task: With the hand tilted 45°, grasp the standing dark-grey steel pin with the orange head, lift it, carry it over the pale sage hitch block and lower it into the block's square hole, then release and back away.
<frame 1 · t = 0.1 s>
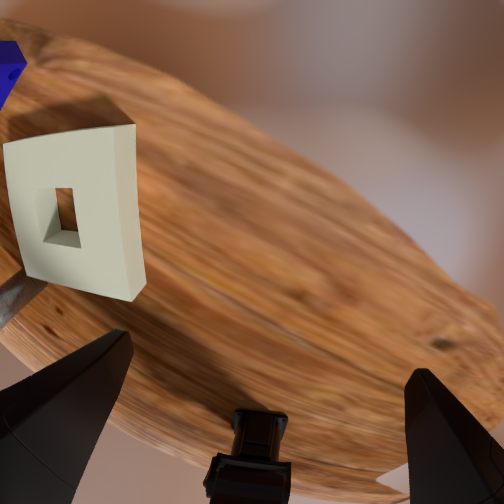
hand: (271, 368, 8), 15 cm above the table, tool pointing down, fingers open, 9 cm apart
hitch block: (75, 205, 24), on the table
steel pin: (37, 275, 28), on the table
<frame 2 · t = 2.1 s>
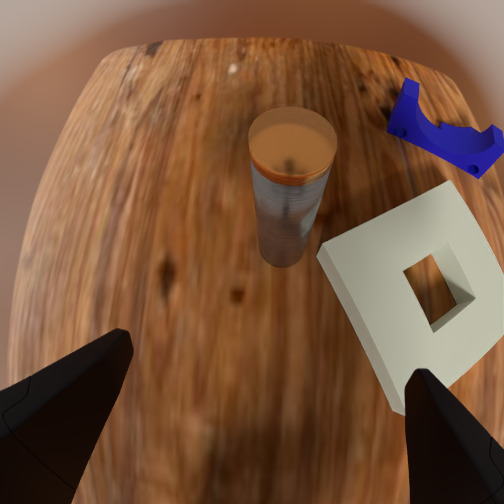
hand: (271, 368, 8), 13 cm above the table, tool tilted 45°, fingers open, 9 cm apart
hitch block: (424, 293, 21), on the table
blue cradle bracket: (435, 143, 27), on the table
steel pin: (282, 245, 24), on the table
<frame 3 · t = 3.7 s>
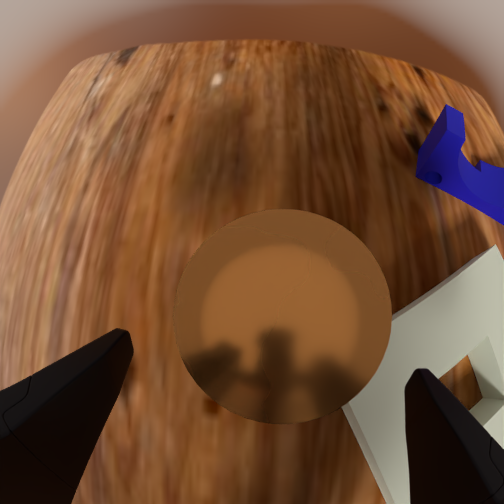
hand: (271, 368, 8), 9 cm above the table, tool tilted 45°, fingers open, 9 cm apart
hitch block: (448, 391, 15), on the table
blue cradle bracket: (472, 188, 20), on the table
steel pin: (272, 342, 17), on the table
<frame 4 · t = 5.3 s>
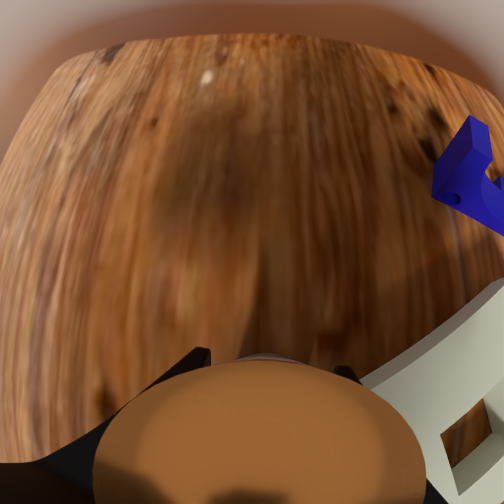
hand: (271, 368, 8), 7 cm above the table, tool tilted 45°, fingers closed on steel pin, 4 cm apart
hitch block: (457, 429, 12), on the table
blue cradle bracket: (490, 207, 17), on the table
steel pin: (266, 386, 14), on the table, touching gripper
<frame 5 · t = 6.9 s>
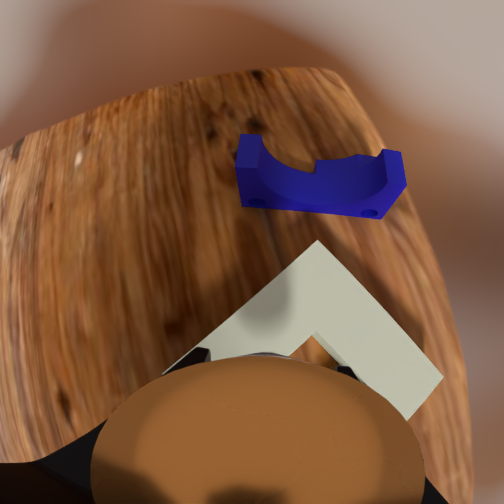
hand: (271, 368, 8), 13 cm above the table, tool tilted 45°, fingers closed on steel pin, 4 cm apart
hitch block: (307, 381, 20), on the table
blue cradle bracket: (313, 191, 25), on the table
steel pin: (265, 385, 14), point 7 cm above the table, touching gripper
when the fingers open (8 cm above the table, at t = 8.7 s): steel pin drops 1 cm, resting in hitch block.
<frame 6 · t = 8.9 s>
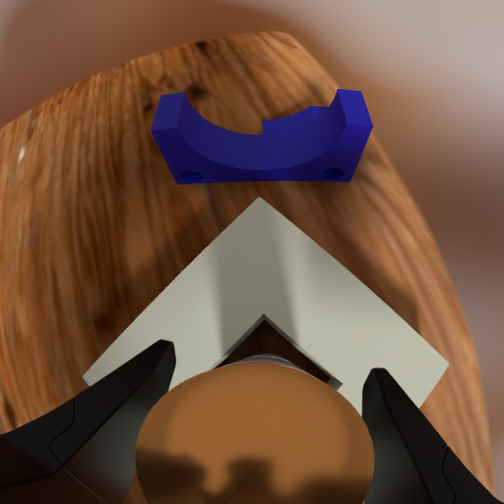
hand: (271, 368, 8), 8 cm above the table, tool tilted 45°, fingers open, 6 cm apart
hitch block: (266, 382, 16), on the table
blue cradle bracket: (263, 157, 21), on the table
steel pin: (265, 383, 16), resting in hitch block
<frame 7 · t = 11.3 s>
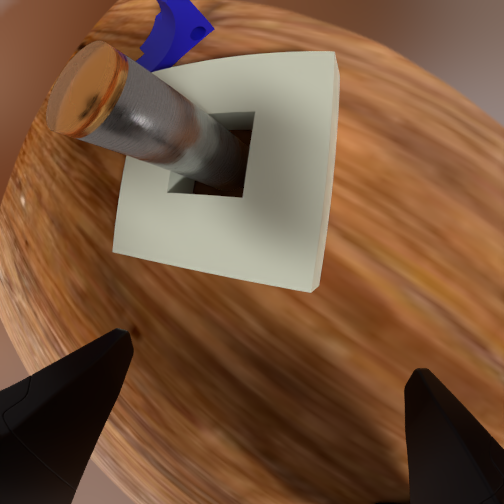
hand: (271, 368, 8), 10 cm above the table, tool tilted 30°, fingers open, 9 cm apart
hitch block: (229, 164, 20), on the table
blue cradle bracket: (157, 64, 23), on the table
steel pin: (229, 165, 20), resting in hitch block
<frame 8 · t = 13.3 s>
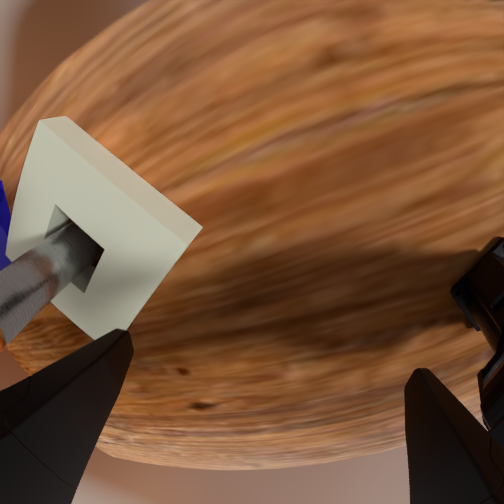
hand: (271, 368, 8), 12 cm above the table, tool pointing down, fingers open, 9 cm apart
hitch block: (90, 235, 22), on the table
blue cradle bracket: (9, 235, 24), on the table
steel pin: (91, 235, 22), resting in hitch block
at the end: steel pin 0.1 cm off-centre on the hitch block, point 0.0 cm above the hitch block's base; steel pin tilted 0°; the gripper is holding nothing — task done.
